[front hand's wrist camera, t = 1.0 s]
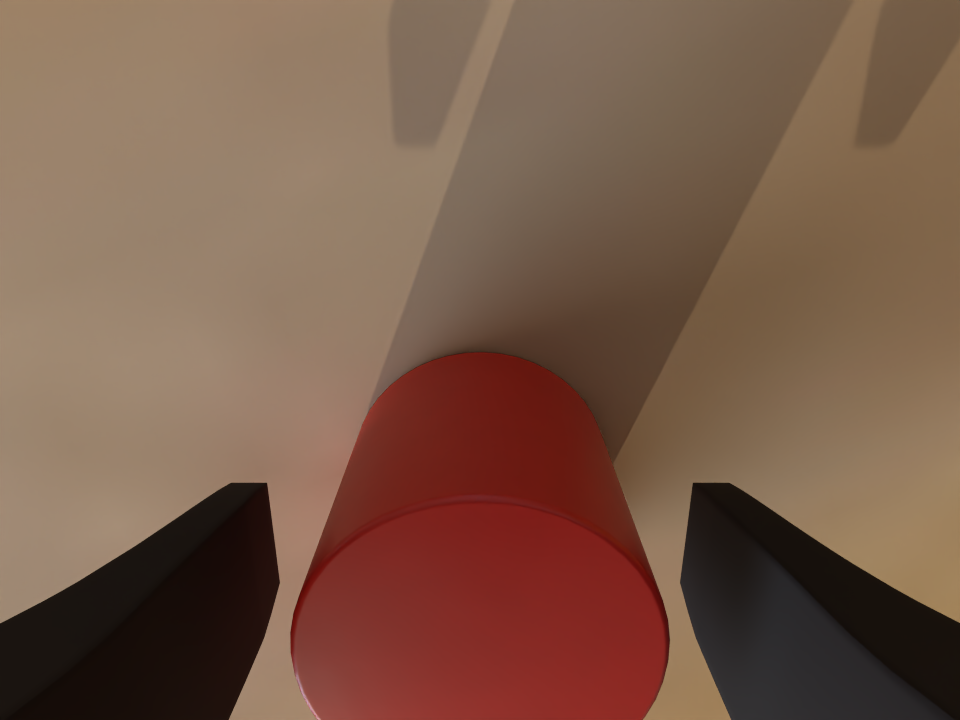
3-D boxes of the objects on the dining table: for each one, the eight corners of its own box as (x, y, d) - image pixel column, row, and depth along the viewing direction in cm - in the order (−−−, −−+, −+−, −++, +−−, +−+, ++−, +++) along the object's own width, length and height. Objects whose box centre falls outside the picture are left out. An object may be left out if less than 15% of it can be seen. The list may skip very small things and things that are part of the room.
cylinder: (334, 364, 13) (249, 517, 8) (598, 337, 12) (670, 478, 8) (377, 579, 14) (327, 807, 10) (608, 558, 14) (672, 781, 9)
